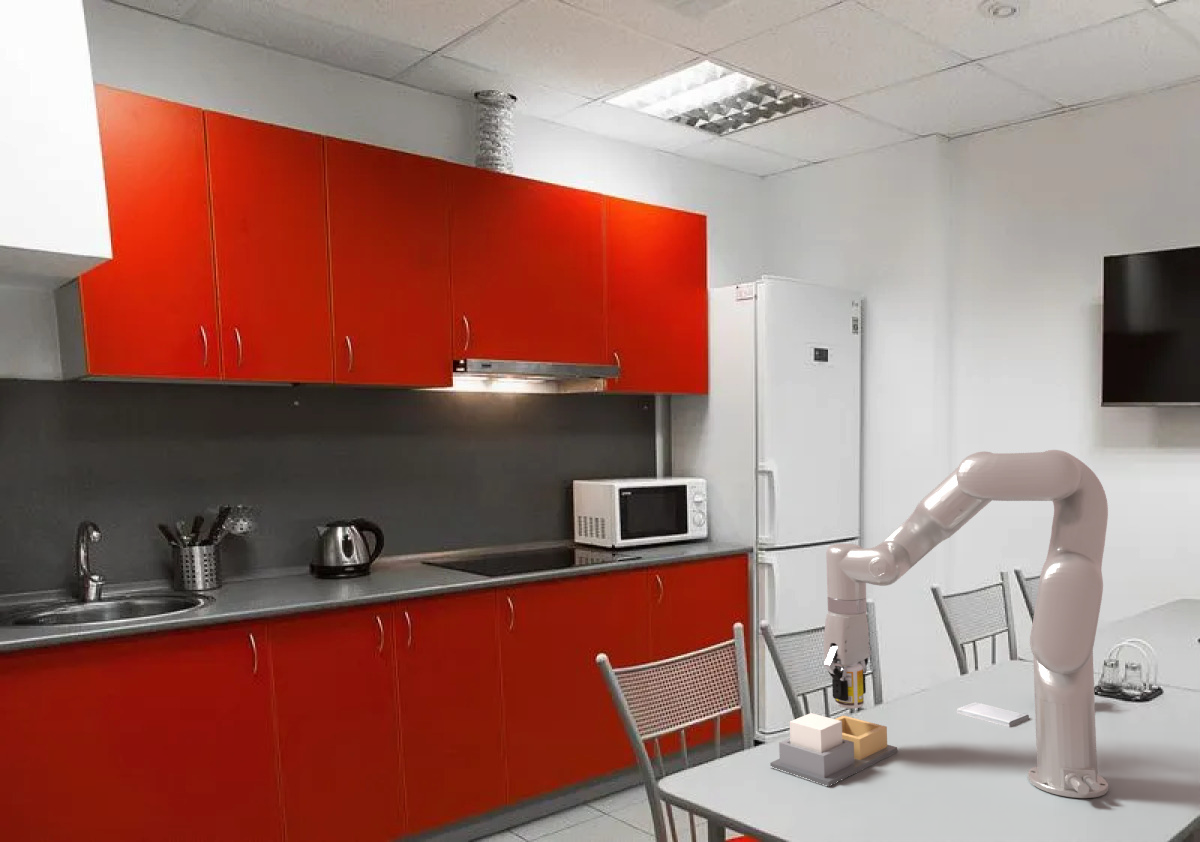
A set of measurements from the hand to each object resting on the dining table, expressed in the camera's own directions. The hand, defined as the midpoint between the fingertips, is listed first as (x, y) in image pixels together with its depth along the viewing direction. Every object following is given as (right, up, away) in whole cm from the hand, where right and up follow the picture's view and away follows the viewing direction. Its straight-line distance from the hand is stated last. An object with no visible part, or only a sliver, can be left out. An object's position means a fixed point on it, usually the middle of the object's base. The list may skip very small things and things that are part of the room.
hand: (849, 694), depth 173 cm
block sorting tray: (-4, -11, -4) cm, 13 cm away
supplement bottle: (0, -2, 0) cm, 2 cm away
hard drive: (+37, -11, +19) cm, 43 cm away
